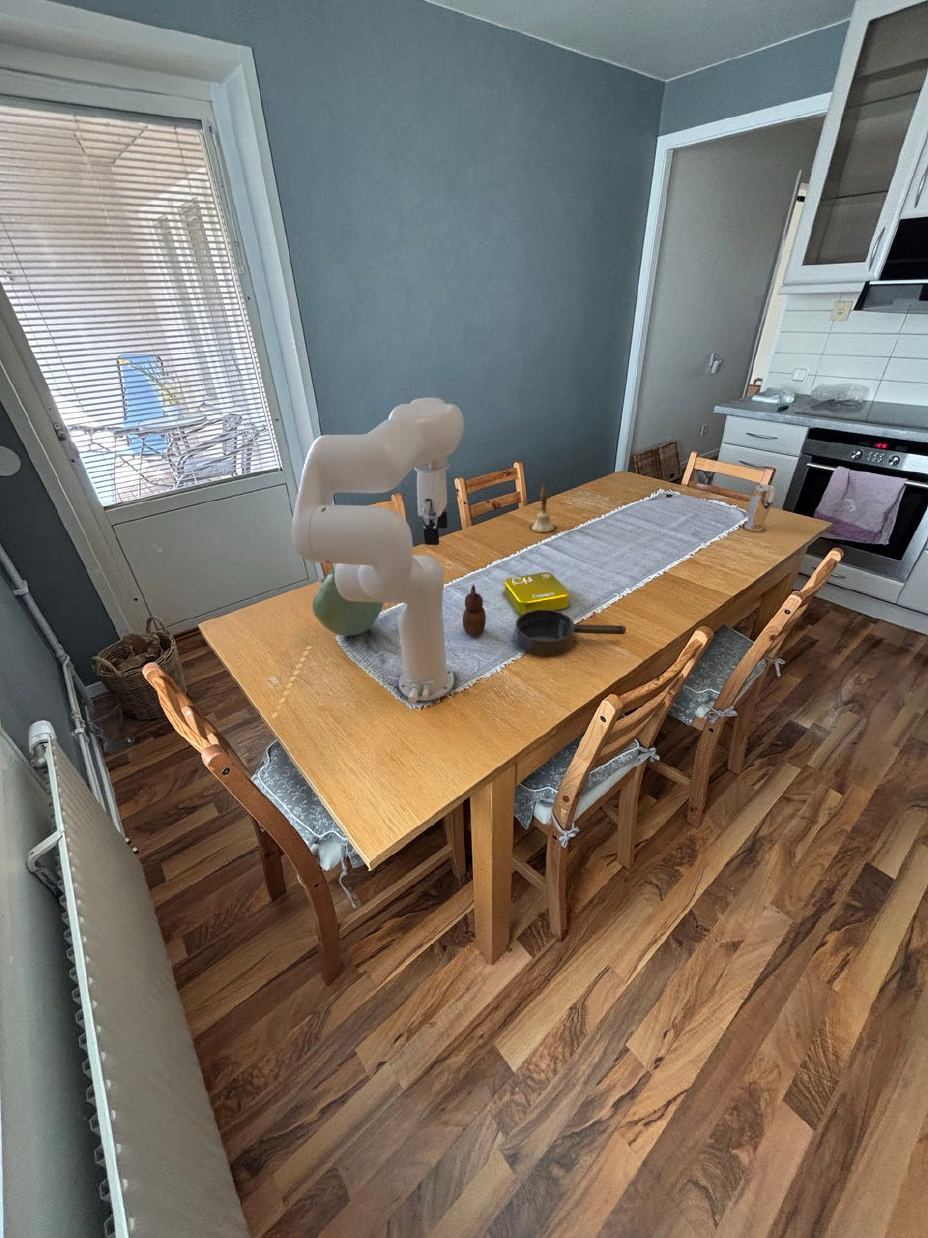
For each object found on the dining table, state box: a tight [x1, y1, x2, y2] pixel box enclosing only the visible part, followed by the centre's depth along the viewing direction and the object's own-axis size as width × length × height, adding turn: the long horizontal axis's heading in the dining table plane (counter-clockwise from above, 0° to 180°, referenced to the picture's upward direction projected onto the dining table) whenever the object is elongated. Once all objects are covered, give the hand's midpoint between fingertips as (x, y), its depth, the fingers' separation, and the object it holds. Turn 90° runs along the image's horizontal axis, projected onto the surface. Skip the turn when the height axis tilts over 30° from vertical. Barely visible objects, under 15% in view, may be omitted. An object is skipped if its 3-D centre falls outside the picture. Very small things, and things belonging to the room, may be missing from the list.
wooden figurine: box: [462, 584, 487, 638], centre depth 128 cm, size 7×6×15 cm
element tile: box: [504, 571, 570, 616], centre depth 144 cm, size 15×15×5 cm
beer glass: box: [743, 484, 777, 532], centre depth 177 cm, size 7×7×15 cm
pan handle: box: [574, 623, 627, 635], centre depth 125 cm, size 2×13×1 cm, turn 83°
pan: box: [514, 609, 575, 657], centre depth 127 cm, size 15×15×4 cm
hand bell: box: [531, 485, 555, 533], centre depth 185 cm, size 8×8×16 cm
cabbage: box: [312, 567, 385, 637], centre depth 129 cm, size 16×19×20 cm
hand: (436, 535), depth 117 cm, fingers open, 9 cm apart
